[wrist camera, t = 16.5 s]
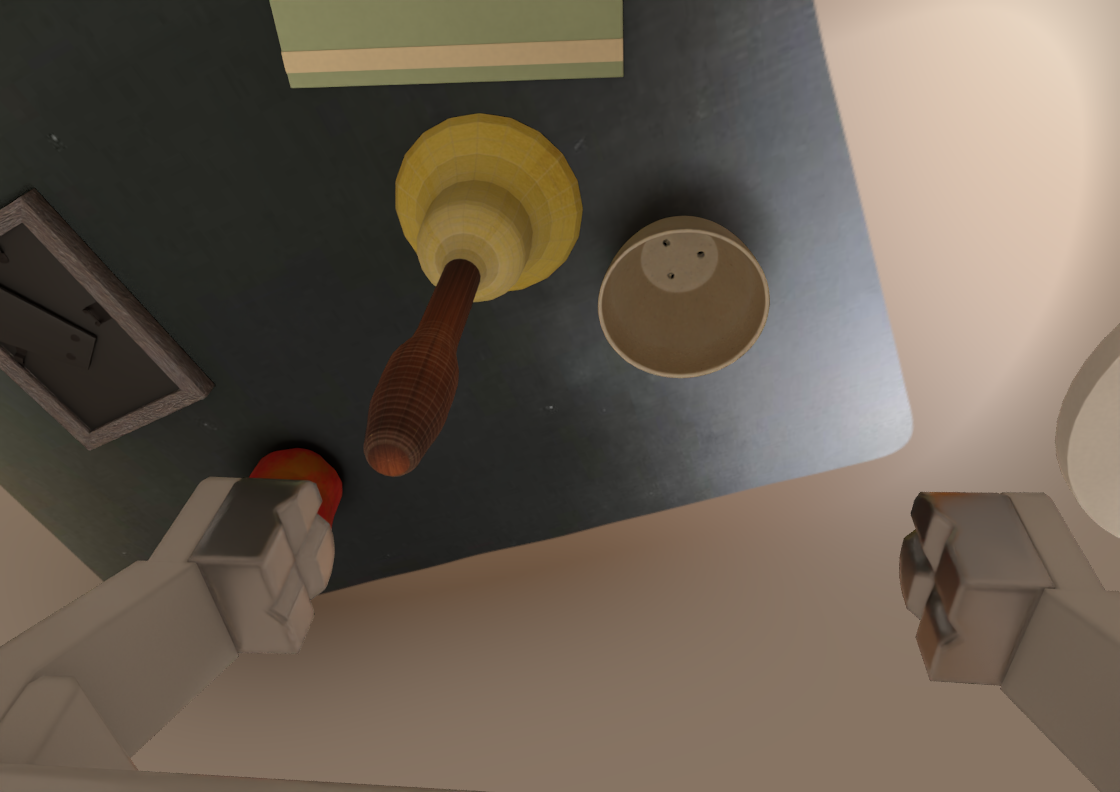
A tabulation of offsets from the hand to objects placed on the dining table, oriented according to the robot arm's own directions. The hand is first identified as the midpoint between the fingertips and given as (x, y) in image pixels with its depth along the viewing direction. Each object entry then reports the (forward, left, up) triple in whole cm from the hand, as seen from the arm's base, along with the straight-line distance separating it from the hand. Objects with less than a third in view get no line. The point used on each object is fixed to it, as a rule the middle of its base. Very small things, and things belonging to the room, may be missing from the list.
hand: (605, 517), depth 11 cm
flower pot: (-3, +16, -41) cm, 45 cm away
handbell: (+10, +13, -41) cm, 44 cm away
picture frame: (+43, +22, -41) cm, 64 cm away
